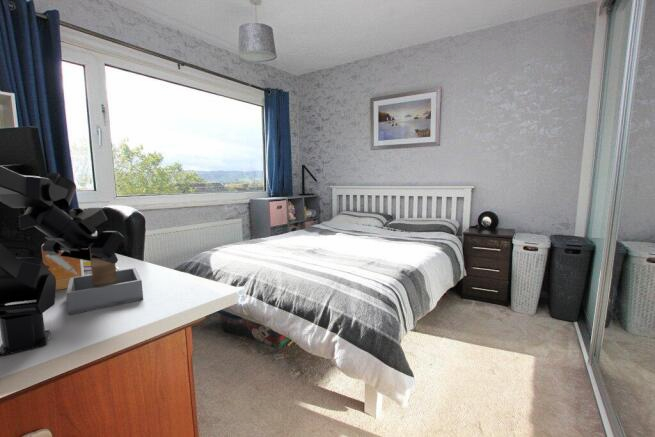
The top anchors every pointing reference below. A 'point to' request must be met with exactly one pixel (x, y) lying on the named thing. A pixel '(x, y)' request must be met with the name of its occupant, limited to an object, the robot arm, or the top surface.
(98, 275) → the brown cylinder
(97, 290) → the grey tote
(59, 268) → the small box
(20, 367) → the top surface
